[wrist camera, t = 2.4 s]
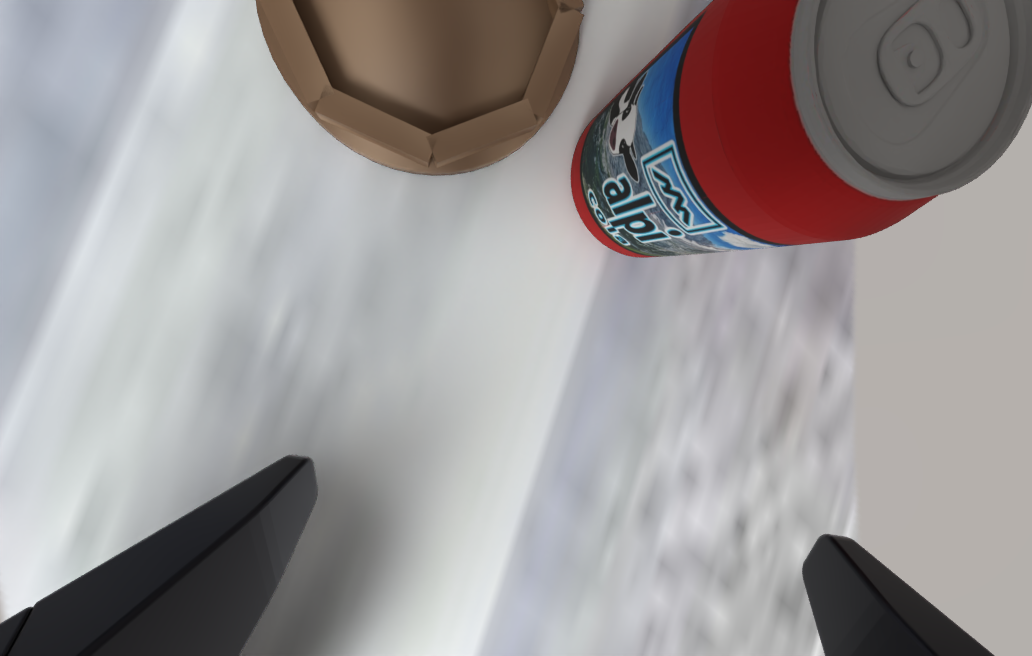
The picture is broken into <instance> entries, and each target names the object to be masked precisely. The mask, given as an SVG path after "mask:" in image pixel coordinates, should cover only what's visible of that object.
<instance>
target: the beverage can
mask: <svg viewBox="0 0 1032 656" xmlns="http://www.w3.org/2000/svg"><path fill="white" fill-rule="evenodd" d="M1031 104H1032V0H713V1H712V2H711V3H710V4H709V5H708V6H707V7H706V8H705V9H704V10H703V11H702V12H701V13H700V14H698V15H697V16H696V17H695V18H694V19H693V20H692V21H691V22H690V23H689V24H688V25H687V26H686V27H685V28H684V29H683V30H682V31H681V32H680V33H679V34H678V35H677V36H676V37H675V38H674V39H673V40H672V41H671V42H670V43H669V44H668V45H667V46H666V47H665V48H664V49H663V50H662V51H661V52H660V53H659V54H658V55H657V56H656V57H655V58H654V59H652V60H651V61H650V62H649V63H648V64H647V65H646V66H645V67H644V68H643V69H642V70H641V71H640V72H639V73H638V74H637V75H636V76H635V77H634V78H633V79H632V80H631V81H630V82H629V83H628V84H627V85H626V86H625V87H624V88H623V89H622V90H621V91H620V92H619V93H618V94H617V95H616V96H615V97H614V98H613V99H612V100H611V101H610V102H609V103H608V104H607V105H606V106H605V107H604V108H603V109H602V111H601V112H600V113H599V114H598V115H597V116H596V117H595V118H594V119H593V120H592V121H591V122H590V123H589V124H588V126H587V127H586V129H585V130H584V132H583V133H582V135H581V137H580V139H579V141H578V143H577V146H576V149H575V152H574V155H573V160H572V166H571V188H572V195H573V199H574V203H575V206H576V208H577V211H578V213H579V215H580V217H581V219H582V221H583V223H584V224H585V226H586V227H587V228H588V230H589V231H590V232H591V233H592V234H593V236H594V237H595V238H597V239H598V240H599V241H600V242H601V243H602V244H604V245H605V246H607V247H608V248H610V249H612V250H614V251H616V252H618V253H621V254H624V255H627V256H632V257H661V256H676V255H689V254H702V253H715V252H727V251H738V250H749V249H760V248H772V247H782V246H792V245H802V244H811V243H821V242H831V241H841V240H851V239H856V238H861V237H865V236H868V235H871V234H874V233H877V232H879V231H882V230H883V229H886V228H888V227H890V226H892V225H893V224H896V223H898V222H899V221H901V220H902V219H904V218H905V217H907V216H909V215H910V214H911V213H913V212H914V211H916V210H917V209H918V208H920V207H922V206H923V205H925V204H926V203H928V202H929V201H931V200H932V199H933V198H935V197H936V196H938V195H940V194H944V193H947V192H950V191H953V190H956V189H958V188H960V187H962V186H964V185H966V184H968V183H969V182H971V181H973V180H974V179H976V178H978V177H979V176H980V175H981V174H983V173H984V172H985V171H986V170H988V169H989V168H990V167H991V166H992V165H993V164H994V163H995V162H996V161H997V160H998V159H999V158H1000V157H1001V156H1002V155H1003V153H1004V152H1005V151H1006V149H1007V148H1008V147H1009V145H1010V144H1011V143H1012V141H1013V140H1014V138H1015V137H1016V135H1017V134H1018V132H1019V130H1020V128H1021V126H1022V124H1023V122H1024V120H1025V118H1026V116H1027V114H1028V112H1029V109H1030V107H1031Z"/></svg>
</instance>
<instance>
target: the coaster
mask: <svg viewBox="0 0 1032 656" xmlns="http://www.w3.org/2000/svg"><path fill="white" fill-rule="evenodd" d="M256 6H257V13H258V16H259V20H260V24H261V28H262V31H263V35H264V38H265V40H266V43H267V45H268V48H269V50H270V53H271V55H272V58H273V60H274V62H275V63H276V65H277V67H278V69H279V71H280V73H281V74H282V76H283V78H284V80H285V81H286V83H287V84H288V86H289V87H290V88H291V90H292V91H293V93H294V94H295V95H296V97H297V98H298V100H299V101H300V102H301V104H302V105H303V106H304V108H305V109H306V110H307V111H308V112H309V113H310V114H311V115H312V117H313V118H314V119H315V120H316V121H317V122H318V123H319V124H320V125H321V126H322V127H323V128H324V129H325V130H327V131H328V132H329V133H330V134H331V135H332V136H333V137H335V138H336V139H337V140H338V141H340V142H341V143H343V144H344V145H346V146H347V147H349V148H350V149H351V150H353V151H354V152H356V153H358V154H360V155H362V156H364V157H366V158H368V159H370V160H372V161H373V162H376V163H379V164H381V165H384V166H387V167H389V168H392V169H396V170H400V171H404V172H408V173H413V174H422V175H432V176H434V175H454V174H460V173H466V172H471V171H475V170H478V169H481V168H484V167H487V166H490V165H492V164H494V163H496V162H498V161H500V160H502V159H504V158H506V157H507V156H509V155H510V154H512V153H513V152H515V151H516V150H518V149H519V148H521V147H522V146H523V145H524V144H525V143H526V142H527V141H528V140H530V139H531V138H532V137H533V136H534V135H535V134H536V132H537V131H538V130H539V129H540V128H541V127H542V125H543V124H544V123H545V122H546V120H547V119H548V118H549V116H550V115H551V113H552V112H553V110H554V109H555V107H556V106H557V104H558V102H559V101H560V99H561V97H562V95H563V93H564V91H565V89H566V86H567V84H568V82H569V79H570V76H571V73H572V70H573V67H574V64H575V59H576V54H577V49H578V43H579V29H580V24H581V22H582V19H583V16H584V15H583V14H582V13H580V12H581V10H582V8H583V7H584V4H583V1H582V0H256Z"/></svg>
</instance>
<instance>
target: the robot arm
mask: <svg viewBox="0 0 1032 656" xmlns="http://www.w3.org/2000/svg"><path fill="white" fill-rule="evenodd" d="M317 495H318V487H317V480H316V474H315V467H314V462H313V460H312V459H311V458H309V457H305V456H298V455H288V456H285V457H283V458H281V459H280V460H278V461H276V462H275V463H273V464H271V465H270V466H268V467H266V468H264V469H263V470H261V471H259V472H258V473H256V474H254V475H252V476H251V477H249V478H247V479H246V480H244V481H242V482H241V483H239V484H237V485H235V486H234V487H232V488H230V489H229V490H227V491H225V492H224V493H222V494H220V495H218V496H217V497H215V498H213V499H212V500H210V501H208V502H207V503H205V504H203V505H201V506H200V507H198V508H196V509H195V510H193V511H191V512H190V513H188V514H186V515H184V516H183V517H181V518H179V519H178V520H176V521H174V522H172V523H171V524H169V525H167V526H166V527H164V528H162V529H161V530H159V531H157V532H155V533H154V534H152V535H150V536H149V537H147V538H145V539H144V540H142V541H140V542H138V543H137V544H135V545H133V546H132V547H130V548H128V549H127V550H125V551H123V552H121V553H120V554H118V555H116V556H115V557H113V558H111V559H110V560H108V561H106V562H104V563H103V564H101V565H99V566H98V567H96V568H94V569H92V570H91V571H89V572H87V573H86V574H84V575H82V576H81V577H79V578H77V579H75V580H74V581H72V582H70V583H69V584H67V585H65V586H64V587H62V588H60V589H58V590H57V591H55V592H53V593H52V594H50V595H48V596H47V597H45V598H43V599H41V600H40V601H38V602H37V603H36V604H35V605H34V607H28V608H26V609H24V610H22V611H21V612H19V613H17V614H16V615H14V616H12V617H10V618H9V619H7V620H5V621H4V622H2V623H0V656H239V655H240V653H241V652H242V650H243V648H244V646H245V644H246V643H247V641H248V639H249V637H250V636H251V634H252V632H253V630H254V629H255V627H256V625H257V623H258V621H259V620H260V618H261V616H262V614H263V613H264V611H265V609H266V607H267V606H268V604H269V602H270V600H271V598H272V596H273V595H274V593H275V591H276V589H277V587H278V585H279V583H280V581H281V579H282V577H283V575H284V572H285V570H286V568H287V566H288V563H289V561H290V559H291V557H292V554H293V552H294V550H295V548H296V545H297V543H298V541H299V539H300V536H301V534H302V532H303V530H304V527H305V525H306V523H307V521H308V518H309V516H310V514H311V512H312V509H313V507H314V505H315V503H316V499H317ZM802 574H803V580H804V584H805V587H806V591H807V594H808V598H809V601H810V605H811V608H812V612H813V615H814V619H815V622H816V626H817V629H818V633H819V636H820V640H821V643H822V646H823V650H824V653H825V656H994V655H993V654H992V653H991V652H989V651H988V650H987V649H986V648H985V647H983V646H982V645H981V644H980V643H978V642H977V641H976V640H975V639H974V638H972V637H971V636H970V635H969V634H968V633H966V632H965V631H964V630H963V629H961V628H960V627H959V626H958V625H957V624H955V623H954V622H953V621H952V620H950V619H949V618H948V617H947V616H946V615H944V614H943V613H942V612H941V611H939V610H938V609H937V608H936V607H935V606H933V605H932V604H931V603H930V602H928V601H927V600H926V599H925V598H924V597H922V596H921V595H920V594H919V593H918V592H916V591H915V590H914V589H913V588H911V587H910V586H909V585H908V584H906V583H905V582H904V581H903V580H902V579H900V578H899V577H898V576H897V575H895V574H894V573H893V572H892V571H891V570H889V569H888V568H887V567H886V566H885V565H883V564H882V563H881V562H880V561H878V560H877V559H876V558H875V557H874V556H872V555H871V554H870V553H869V552H867V551H866V550H865V549H864V548H863V547H861V546H860V545H859V544H858V543H856V542H855V541H854V540H852V539H850V538H848V537H844V536H837V535H831V534H823V535H822V536H820V537H819V538H818V540H817V541H816V543H815V545H814V546H813V548H812V550H811V551H810V553H809V555H808V556H807V558H806V560H805V561H804V563H803V568H802Z"/></svg>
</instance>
